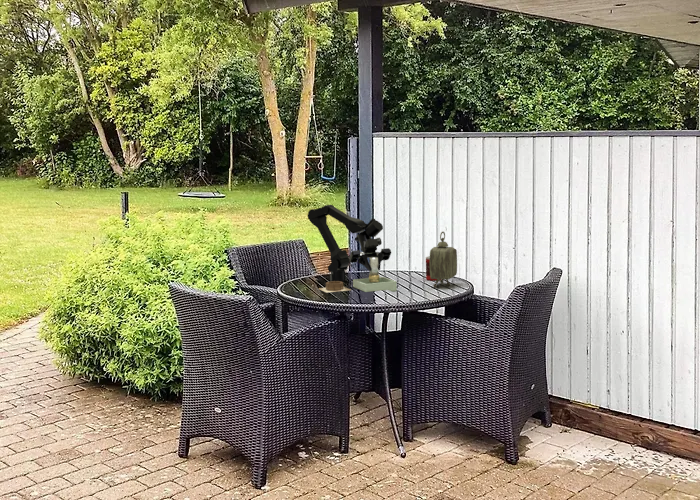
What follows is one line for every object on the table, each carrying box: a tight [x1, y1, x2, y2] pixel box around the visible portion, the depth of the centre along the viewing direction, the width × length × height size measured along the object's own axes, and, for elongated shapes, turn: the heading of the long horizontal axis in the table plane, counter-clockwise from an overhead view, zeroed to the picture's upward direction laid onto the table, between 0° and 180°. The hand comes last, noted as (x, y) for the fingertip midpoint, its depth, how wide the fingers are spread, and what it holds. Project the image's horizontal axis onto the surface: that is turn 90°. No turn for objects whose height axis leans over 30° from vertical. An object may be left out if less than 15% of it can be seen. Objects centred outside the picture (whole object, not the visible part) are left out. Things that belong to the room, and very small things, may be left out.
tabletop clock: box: [429, 231, 458, 288], centre depth 354 cm, size 14×9×25 cm, turn 157°
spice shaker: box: [368, 257, 381, 283], centre depth 349 cm, size 5×5×11 cm
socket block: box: [318, 281, 352, 294], centre depth 350 cm, size 12×12×4 cm
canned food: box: [425, 255, 441, 282], centre depth 373 cm, size 8×8×11 cm
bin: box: [352, 276, 398, 293], centre depth 350 cm, size 15×15×4 cm
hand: (375, 270), depth 348 cm, fingers closed on spice shaker, 4 cm apart
